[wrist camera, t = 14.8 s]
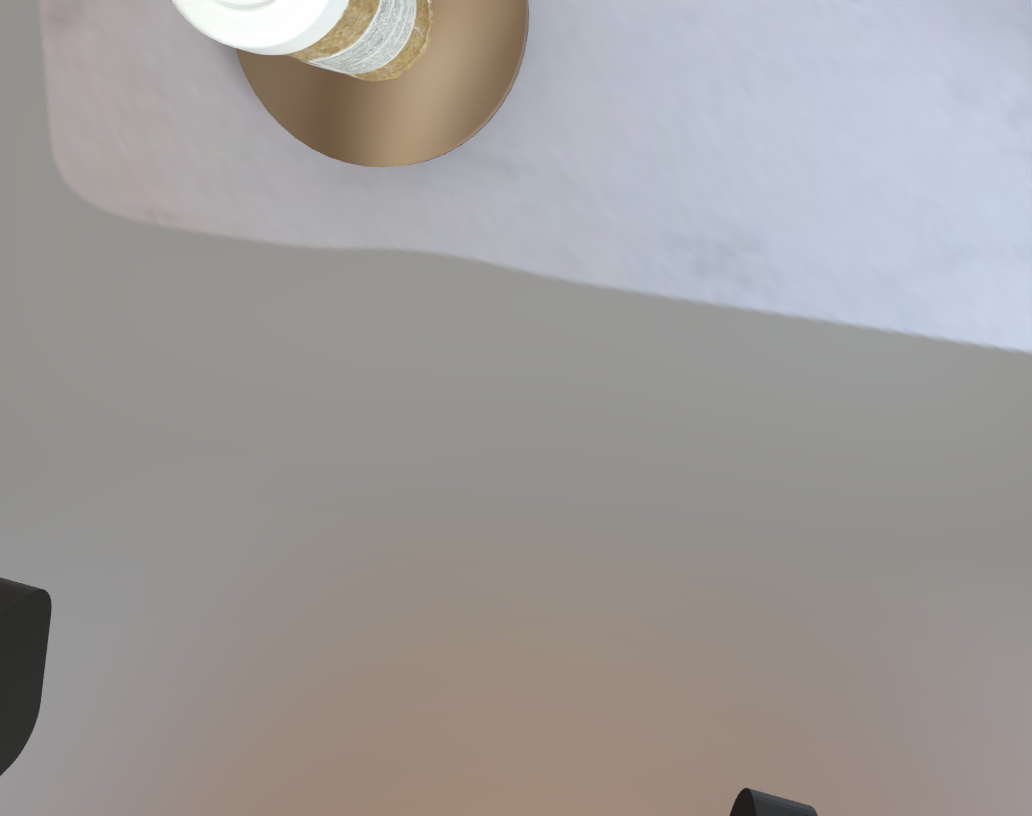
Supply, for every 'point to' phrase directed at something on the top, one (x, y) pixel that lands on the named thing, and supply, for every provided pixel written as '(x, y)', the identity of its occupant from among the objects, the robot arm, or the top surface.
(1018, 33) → the top surface
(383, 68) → the sprinkles bottle
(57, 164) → the top surface
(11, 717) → the robot arm
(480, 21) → the disc
